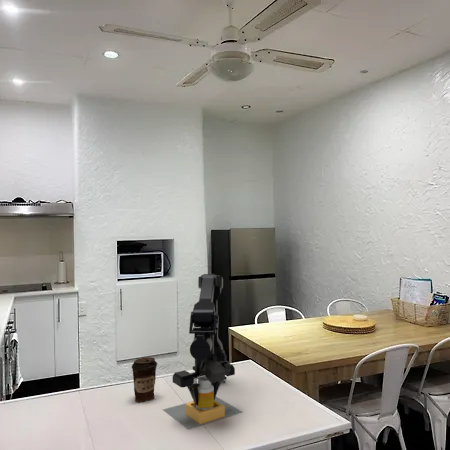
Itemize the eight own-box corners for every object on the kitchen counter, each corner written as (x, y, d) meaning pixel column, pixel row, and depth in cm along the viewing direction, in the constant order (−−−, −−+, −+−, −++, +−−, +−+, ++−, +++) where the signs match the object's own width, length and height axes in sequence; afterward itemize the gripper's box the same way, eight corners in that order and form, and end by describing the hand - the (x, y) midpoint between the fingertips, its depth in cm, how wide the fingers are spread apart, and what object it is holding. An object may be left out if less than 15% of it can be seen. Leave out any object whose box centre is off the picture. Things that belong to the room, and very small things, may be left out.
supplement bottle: (217, 413, 122) (216, 379, 122) (200, 416, 119) (199, 382, 120) (209, 406, 127) (209, 374, 127) (193, 409, 124) (193, 377, 125)
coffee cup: (160, 402, 134) (159, 362, 135) (134, 406, 131) (134, 365, 132) (154, 393, 142) (154, 354, 143) (130, 396, 139) (129, 357, 140)
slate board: (162, 411, 127) (162, 409, 127) (214, 397, 138) (214, 395, 138) (188, 431, 114) (188, 429, 114) (243, 414, 125) (243, 412, 125)
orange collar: (185, 413, 124) (185, 403, 124) (209, 406, 129) (209, 397, 129) (200, 424, 117) (199, 413, 117) (224, 416, 122) (224, 406, 122)
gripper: (190, 362, 112) (191, 421, 111) (245, 350, 122) (246, 404, 122) (171, 353, 121) (171, 407, 120) (224, 342, 131) (224, 392, 131)
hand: (204, 402), depth 123 cm, fingers closed on supplement bottle, 5 cm apart
